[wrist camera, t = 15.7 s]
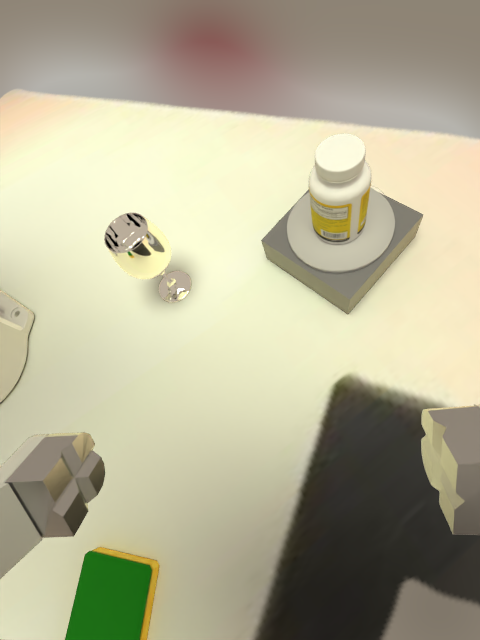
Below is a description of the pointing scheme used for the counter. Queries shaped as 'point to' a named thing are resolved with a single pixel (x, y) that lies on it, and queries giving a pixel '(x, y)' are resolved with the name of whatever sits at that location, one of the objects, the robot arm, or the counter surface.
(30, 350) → the counter surface
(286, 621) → the counter surface
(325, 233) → the supplement bottle
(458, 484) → the robot arm
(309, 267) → the kitchen scale
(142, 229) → the wineglass
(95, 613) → the dish sponge
